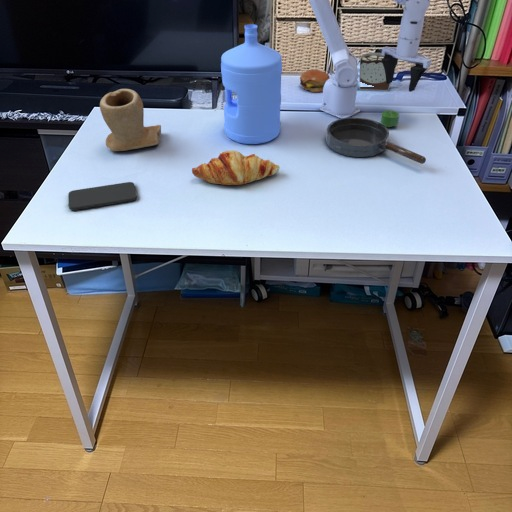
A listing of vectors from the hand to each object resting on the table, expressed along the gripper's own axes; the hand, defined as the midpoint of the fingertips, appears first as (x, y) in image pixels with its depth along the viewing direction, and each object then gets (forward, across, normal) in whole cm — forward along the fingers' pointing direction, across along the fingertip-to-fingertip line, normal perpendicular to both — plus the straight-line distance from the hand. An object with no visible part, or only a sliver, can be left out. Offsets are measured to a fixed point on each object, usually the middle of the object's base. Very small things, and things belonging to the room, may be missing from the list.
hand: (400, 86), depth 141 cm
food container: (+9, +17, -12) cm, 23 cm away
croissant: (+9, +6, +57) cm, 58 cm away
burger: (+9, +30, +2) cm, 31 cm away
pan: (+8, -3, +22) cm, 24 cm away
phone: (+8, +21, +85) cm, 88 cm away
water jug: (+9, +21, +38) cm, 44 cm away
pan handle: (+7, -17, +22) cm, 29 cm away
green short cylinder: (+8, -3, +8) cm, 12 cm away
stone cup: (+9, +37, +66) cm, 76 cm away
